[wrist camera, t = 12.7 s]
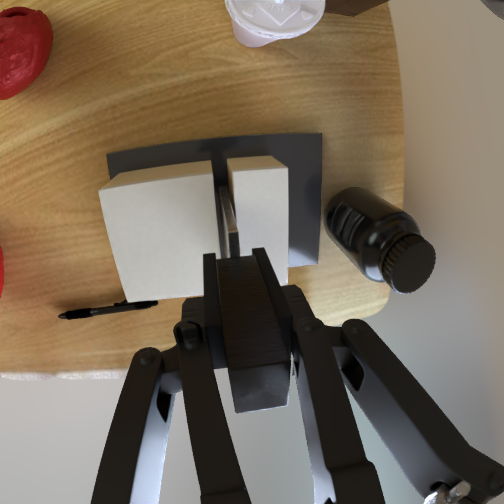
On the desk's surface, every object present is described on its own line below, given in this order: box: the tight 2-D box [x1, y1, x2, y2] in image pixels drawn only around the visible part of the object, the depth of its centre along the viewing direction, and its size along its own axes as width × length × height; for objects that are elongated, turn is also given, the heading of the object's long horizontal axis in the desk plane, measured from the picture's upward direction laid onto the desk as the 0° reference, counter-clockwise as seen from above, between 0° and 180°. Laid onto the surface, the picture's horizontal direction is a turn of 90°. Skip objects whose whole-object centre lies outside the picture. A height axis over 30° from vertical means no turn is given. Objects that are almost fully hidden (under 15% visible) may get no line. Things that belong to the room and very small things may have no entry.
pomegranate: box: [0, 7, 53, 100], centre depth 13 cm, size 10×10×9 cm
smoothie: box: [225, 0, 325, 47], centre depth 15 cm, size 6×6×14 cm
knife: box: [216, 186, 291, 413], centre depth 18 cm, size 2×6×18 cm, turn 3°
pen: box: [58, 299, 158, 320], centre depth 31 cm, size 14×2×1 cm, turn 97°
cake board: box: [106, 132, 322, 268], centre depth 28 cm, size 20×14×1 cm
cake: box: [98, 160, 221, 302], centre depth 25 cm, size 9×10×6 cm
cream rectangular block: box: [227, 156, 288, 285], centre depth 25 cm, size 4×10×6 cm, turn 3°
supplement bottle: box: [324, 187, 436, 294], centre depth 26 cm, size 7×7×12 cm
